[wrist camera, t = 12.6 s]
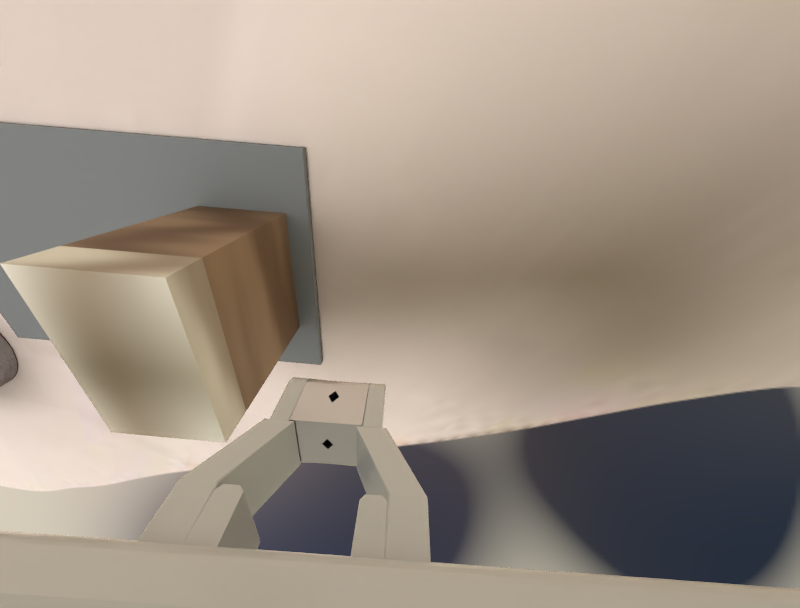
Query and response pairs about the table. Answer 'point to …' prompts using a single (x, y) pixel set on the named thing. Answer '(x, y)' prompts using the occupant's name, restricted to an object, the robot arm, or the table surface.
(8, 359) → the pillar candle
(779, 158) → the table surface
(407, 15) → the table surface
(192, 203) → the mat
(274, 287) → the brown and cream block
